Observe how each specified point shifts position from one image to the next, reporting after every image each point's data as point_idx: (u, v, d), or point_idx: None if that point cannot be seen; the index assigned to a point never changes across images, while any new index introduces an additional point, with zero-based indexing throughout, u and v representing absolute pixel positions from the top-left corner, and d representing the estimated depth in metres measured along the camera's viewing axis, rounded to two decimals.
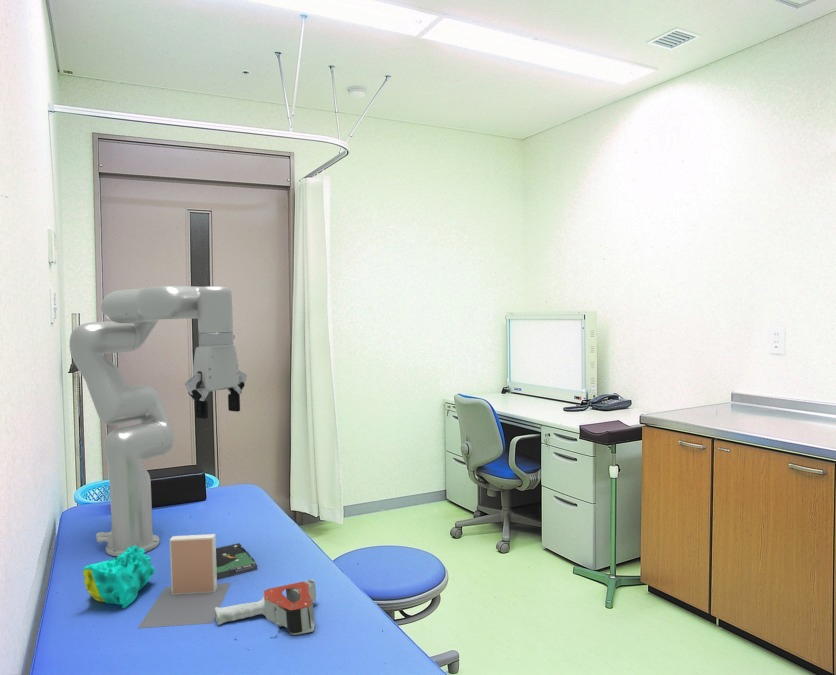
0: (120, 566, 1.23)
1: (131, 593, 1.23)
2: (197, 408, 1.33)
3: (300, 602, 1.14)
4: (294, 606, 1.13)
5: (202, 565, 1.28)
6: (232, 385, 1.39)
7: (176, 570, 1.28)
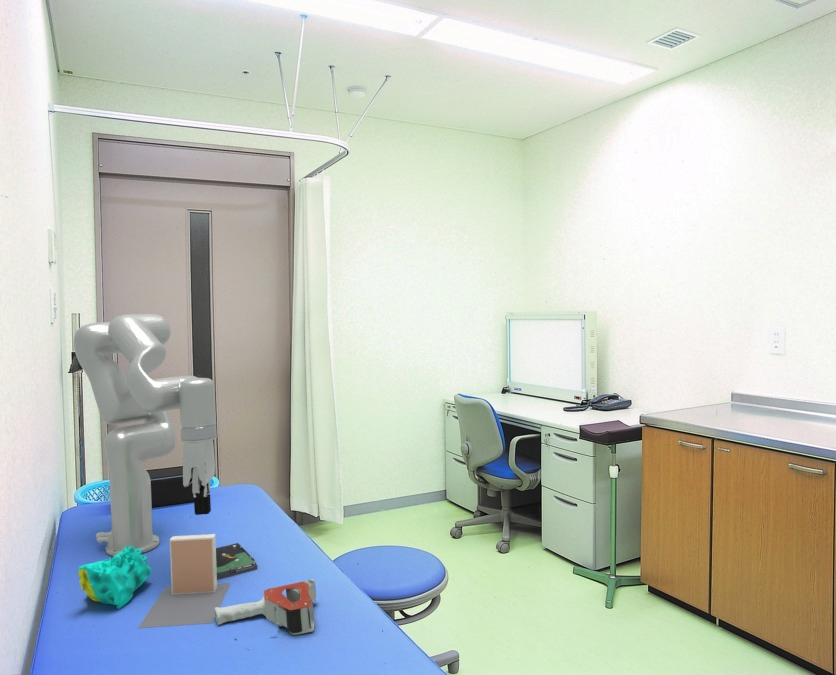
0: (115, 566, 1.23)
1: (126, 594, 1.23)
2: (200, 505, 1.34)
3: (300, 602, 1.14)
4: (294, 606, 1.13)
5: (202, 565, 1.28)
6: (213, 476, 1.38)
7: (176, 570, 1.28)
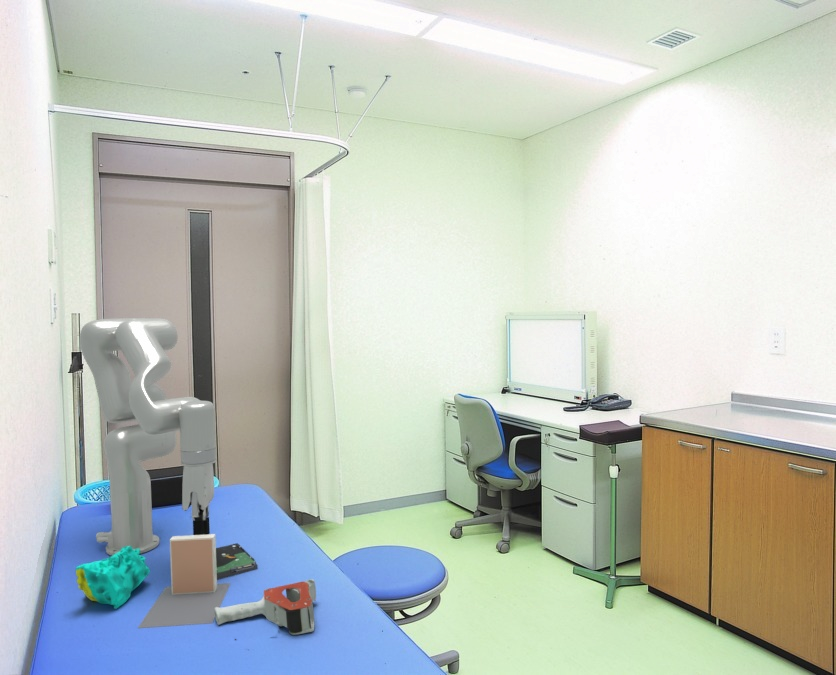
0: (112, 566, 1.23)
1: (123, 594, 1.23)
2: (198, 528, 1.34)
3: (300, 602, 1.14)
4: (294, 606, 1.13)
5: (202, 565, 1.28)
6: (212, 498, 1.38)
7: (176, 570, 1.28)
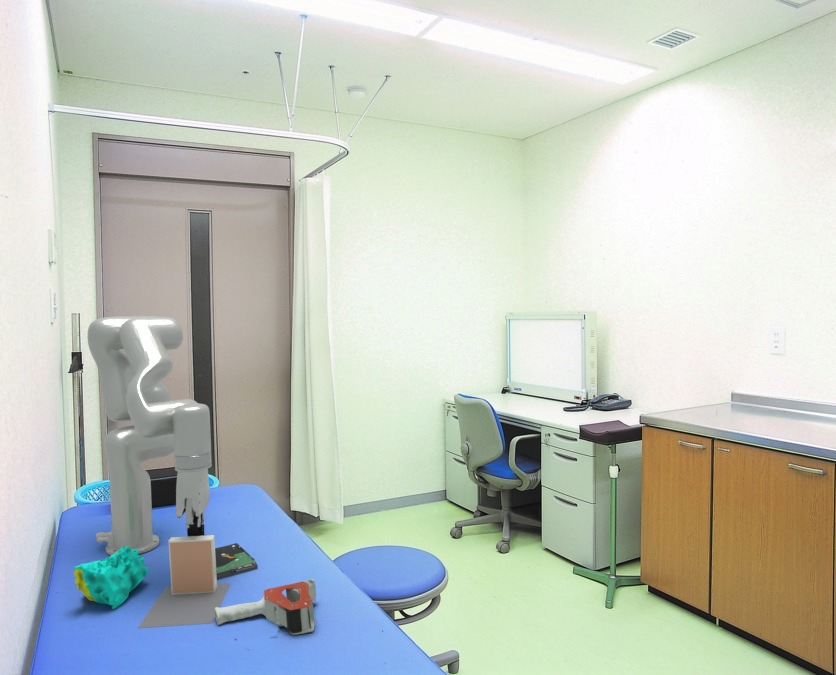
0: (110, 567, 1.23)
1: (121, 594, 1.23)
2: (193, 535, 1.29)
3: (300, 602, 1.14)
4: (294, 606, 1.13)
5: (202, 566, 1.28)
6: (207, 504, 1.34)
7: (175, 571, 1.27)
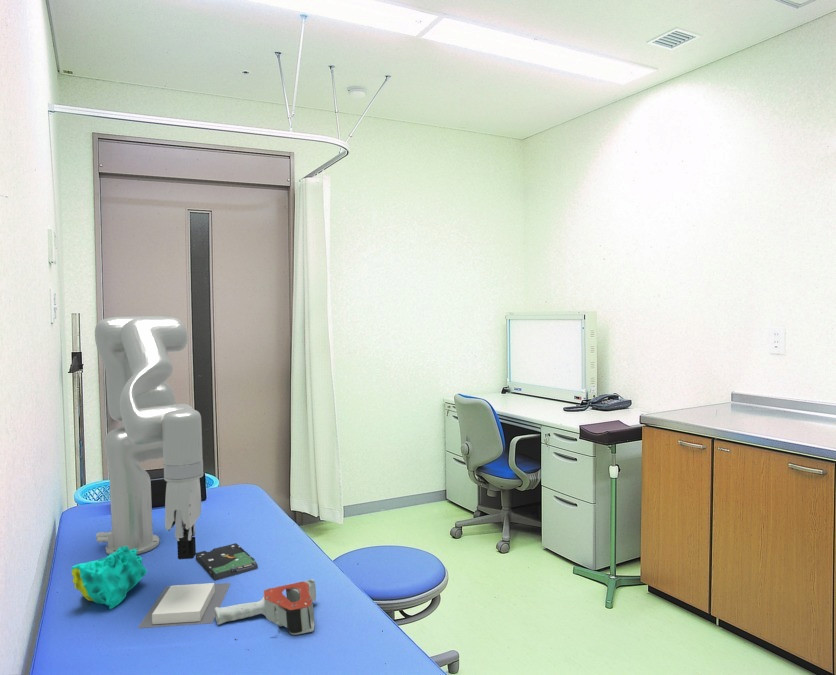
0: (107, 567, 1.23)
1: (118, 594, 1.23)
2: (183, 549, 1.22)
3: (300, 602, 1.14)
4: (294, 606, 1.13)
5: None
6: None
7: None
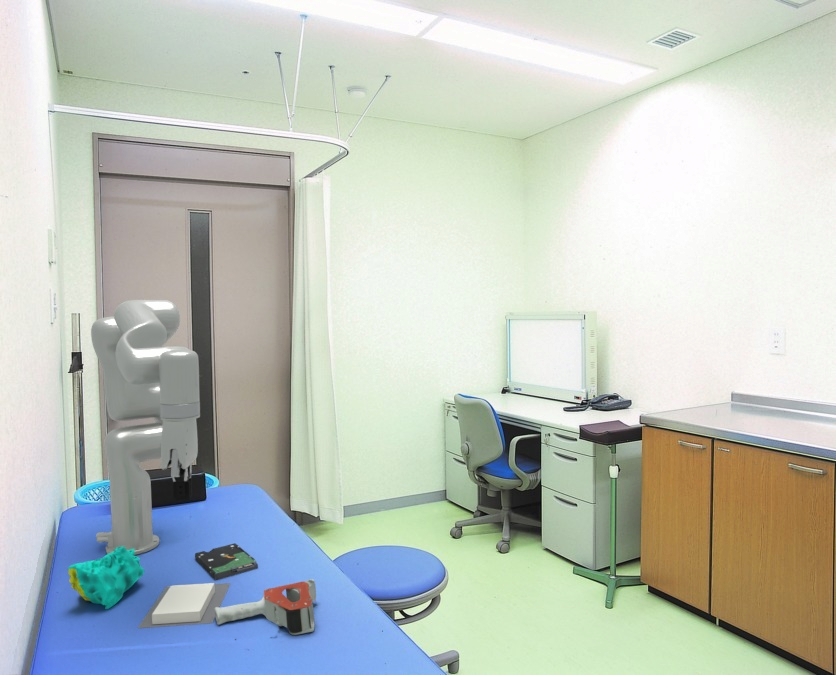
0: (103, 567, 1.22)
1: (114, 594, 1.23)
2: (179, 490, 1.21)
3: (300, 602, 1.14)
4: (294, 606, 1.13)
5: None
6: (195, 458, 1.25)
7: None
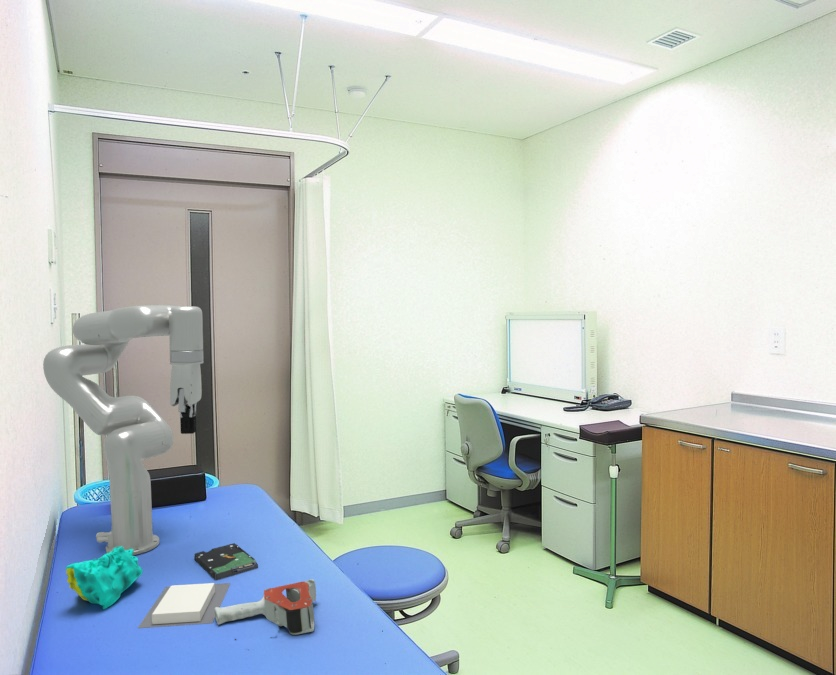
0: (101, 567, 1.23)
1: (111, 594, 1.23)
2: (185, 424, 1.43)
3: (300, 602, 1.14)
4: (294, 606, 1.13)
5: None
6: (199, 399, 1.47)
7: None
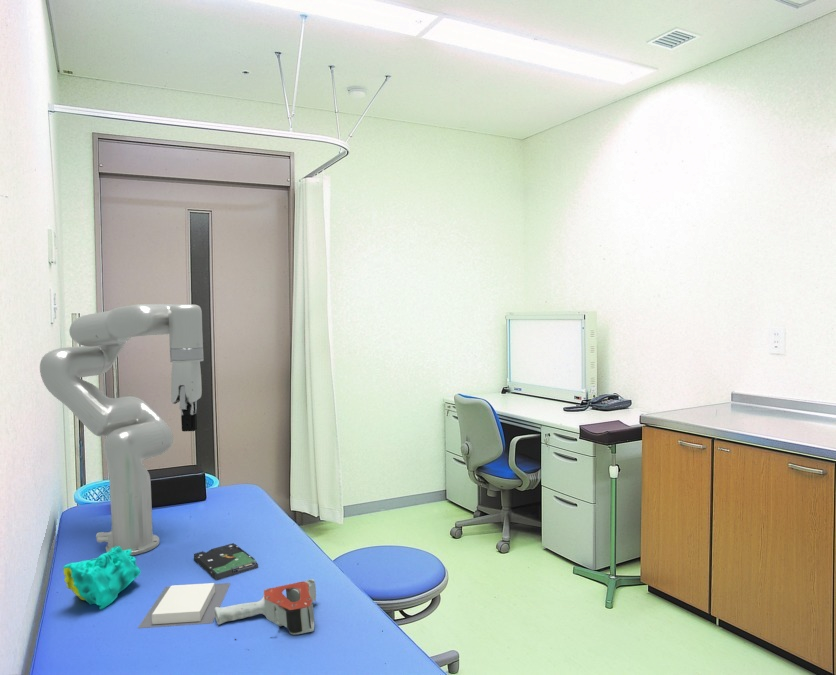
0: (98, 567, 1.23)
1: (108, 595, 1.23)
2: (186, 422, 1.44)
3: (300, 602, 1.14)
4: (294, 606, 1.13)
5: None
6: (199, 397, 1.48)
7: None
